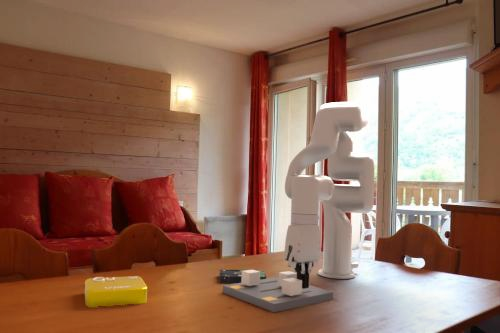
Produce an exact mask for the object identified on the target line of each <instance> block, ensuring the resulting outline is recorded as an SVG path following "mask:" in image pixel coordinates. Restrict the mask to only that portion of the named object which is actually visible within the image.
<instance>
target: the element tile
mask: <svg viewBox="0 0 500 333" xmlns="http://www.w3.org/2000/svg"><path fill="white" fill-rule="evenodd" d="M84 300H85V307H87V306H88V308H99V307H98V306H107V307H114V306H113V305H121V306H128V305H127V304H134V305H143V304H146V303H148V286H147V284H146V283H145V281H144V280H143V278H142V277H140V276H139V275H131V276H129V275H128V276H113V277H109V276H107V277H103V276H96V277H94V278H93V277H91V278H90V277H89V278H87V279H86V280H85V281H84ZM142 303H143V304H142ZM125 304H126V305H125Z"/></svg>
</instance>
